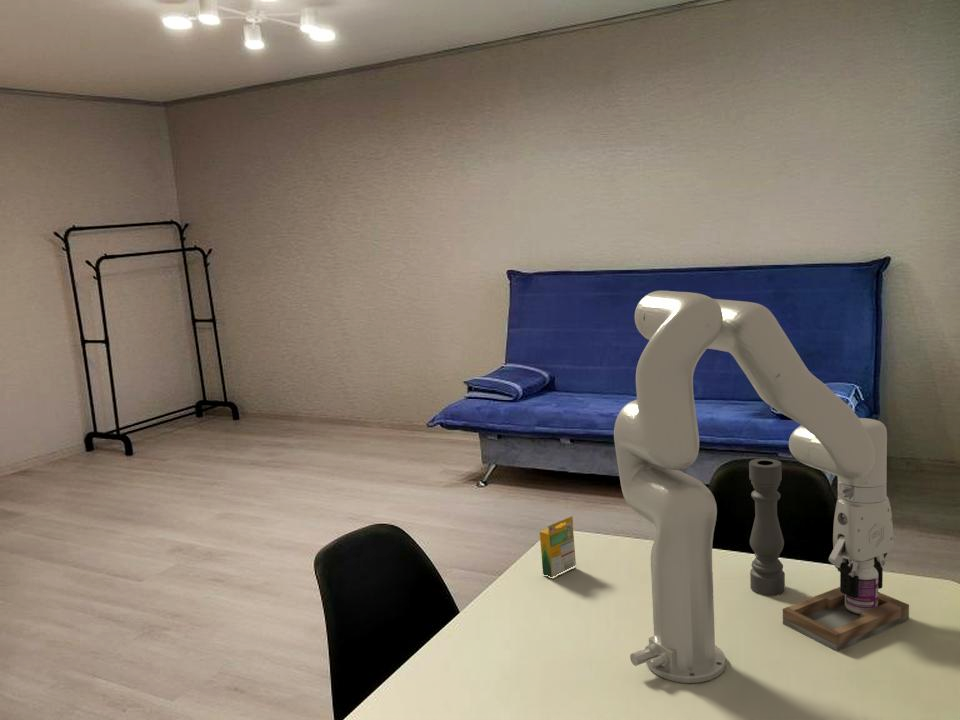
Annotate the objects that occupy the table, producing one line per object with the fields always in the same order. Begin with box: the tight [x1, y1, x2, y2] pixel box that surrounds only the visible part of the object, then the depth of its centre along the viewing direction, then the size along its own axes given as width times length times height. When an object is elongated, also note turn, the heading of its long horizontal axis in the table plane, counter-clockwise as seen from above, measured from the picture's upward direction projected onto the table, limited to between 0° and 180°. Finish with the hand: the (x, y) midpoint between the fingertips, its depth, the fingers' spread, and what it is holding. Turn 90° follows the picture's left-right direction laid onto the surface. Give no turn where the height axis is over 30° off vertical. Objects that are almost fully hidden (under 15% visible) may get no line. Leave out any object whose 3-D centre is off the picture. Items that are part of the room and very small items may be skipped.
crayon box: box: [539, 515, 577, 577], centre depth 164 cm, size 7×3×12 cm, turn 130°
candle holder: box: [748, 457, 786, 597], centre depth 149 cm, size 6×6×25 cm
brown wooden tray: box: [782, 586, 910, 652], centre depth 136 cm, size 18×11×3 cm, turn 117°
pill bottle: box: [845, 558, 879, 614], centre depth 137 cm, size 5×5×10 cm
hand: (861, 589), depth 138 cm, fingers closed on pill bottle, 5 cm apart
